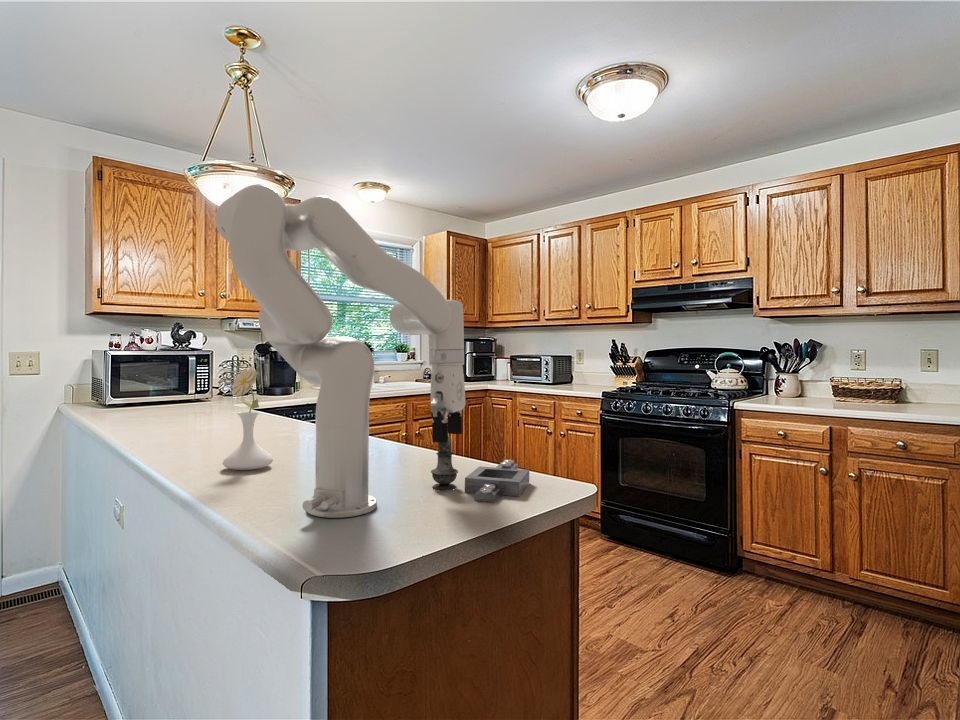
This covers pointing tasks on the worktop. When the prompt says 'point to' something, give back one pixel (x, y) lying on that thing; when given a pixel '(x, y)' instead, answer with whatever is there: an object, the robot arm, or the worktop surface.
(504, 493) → the chain end near
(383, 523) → the worktop surface
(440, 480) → the salt shaker
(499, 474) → the frame
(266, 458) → the flower in vase
